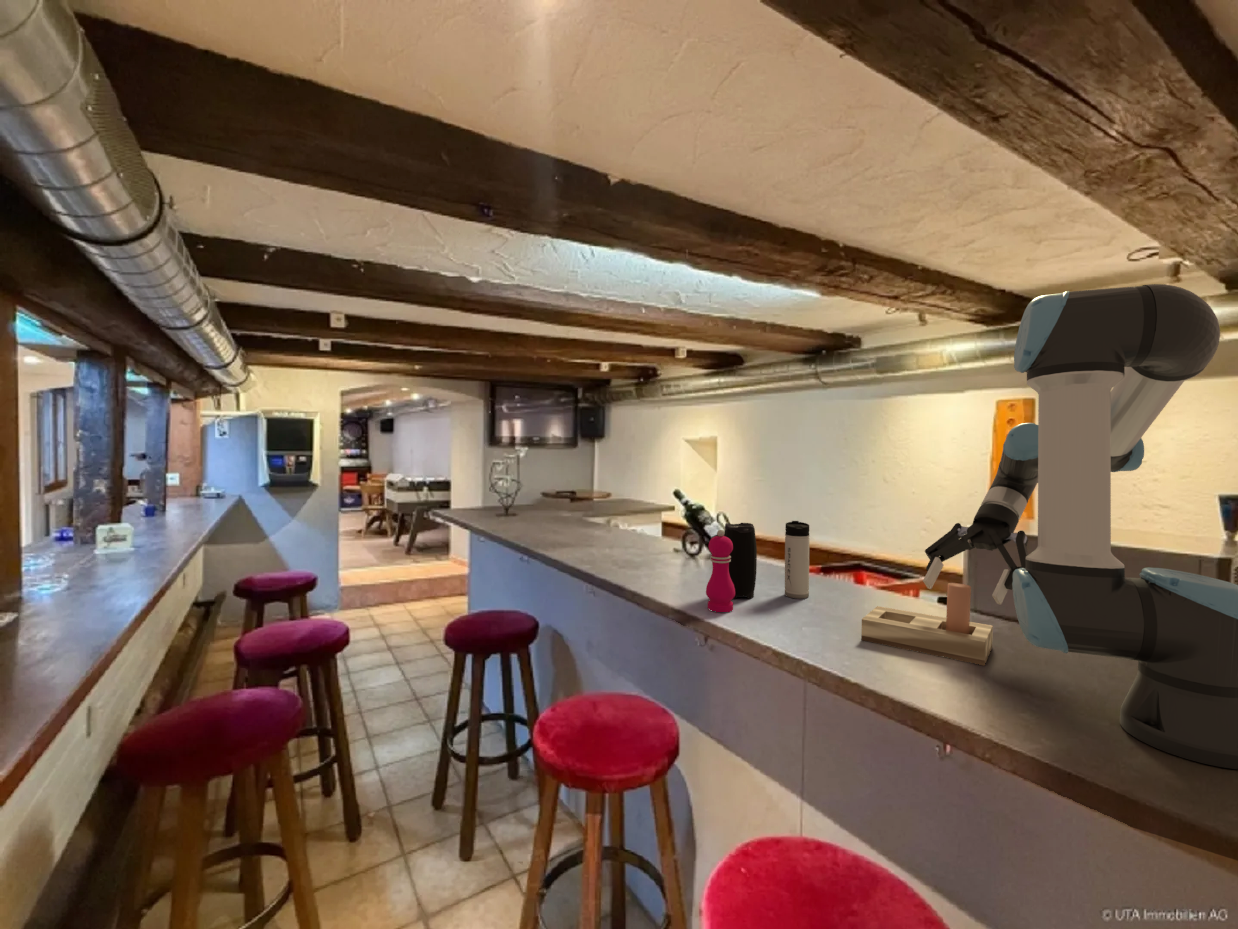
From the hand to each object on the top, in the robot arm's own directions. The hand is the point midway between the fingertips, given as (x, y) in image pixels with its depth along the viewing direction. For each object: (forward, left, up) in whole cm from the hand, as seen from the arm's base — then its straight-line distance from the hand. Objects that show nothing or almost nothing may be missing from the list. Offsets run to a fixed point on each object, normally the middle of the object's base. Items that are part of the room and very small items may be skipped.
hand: (959, 592), depth 115 cm
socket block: (-2, +6, -11) cm, 13 cm away
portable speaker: (+7, +53, -12) cm, 54 cm away
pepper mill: (-7, +51, -12) cm, 52 cm away
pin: (-2, 0, -10) cm, 10 cm away
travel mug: (+17, +41, -12) cm, 46 cm away
